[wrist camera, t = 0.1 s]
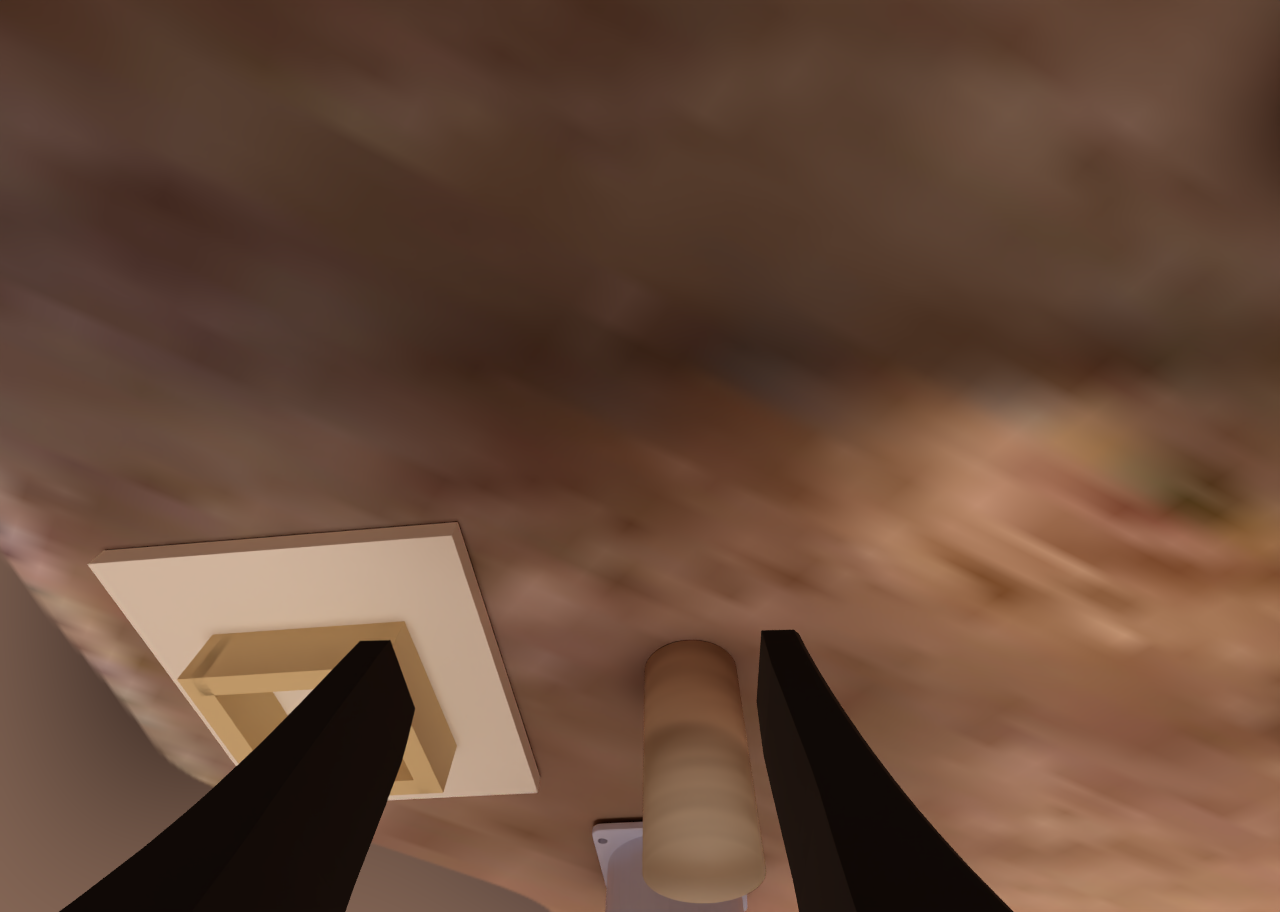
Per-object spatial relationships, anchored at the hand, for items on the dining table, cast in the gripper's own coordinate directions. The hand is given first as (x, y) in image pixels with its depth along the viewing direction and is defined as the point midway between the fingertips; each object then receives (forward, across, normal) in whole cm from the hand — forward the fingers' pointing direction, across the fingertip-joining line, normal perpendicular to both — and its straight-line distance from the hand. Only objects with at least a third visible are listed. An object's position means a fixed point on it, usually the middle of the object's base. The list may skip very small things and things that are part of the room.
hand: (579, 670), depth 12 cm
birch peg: (+10, -3, +12) cm, 16 cm away
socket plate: (+10, +12, +12) cm, 20 cm away
